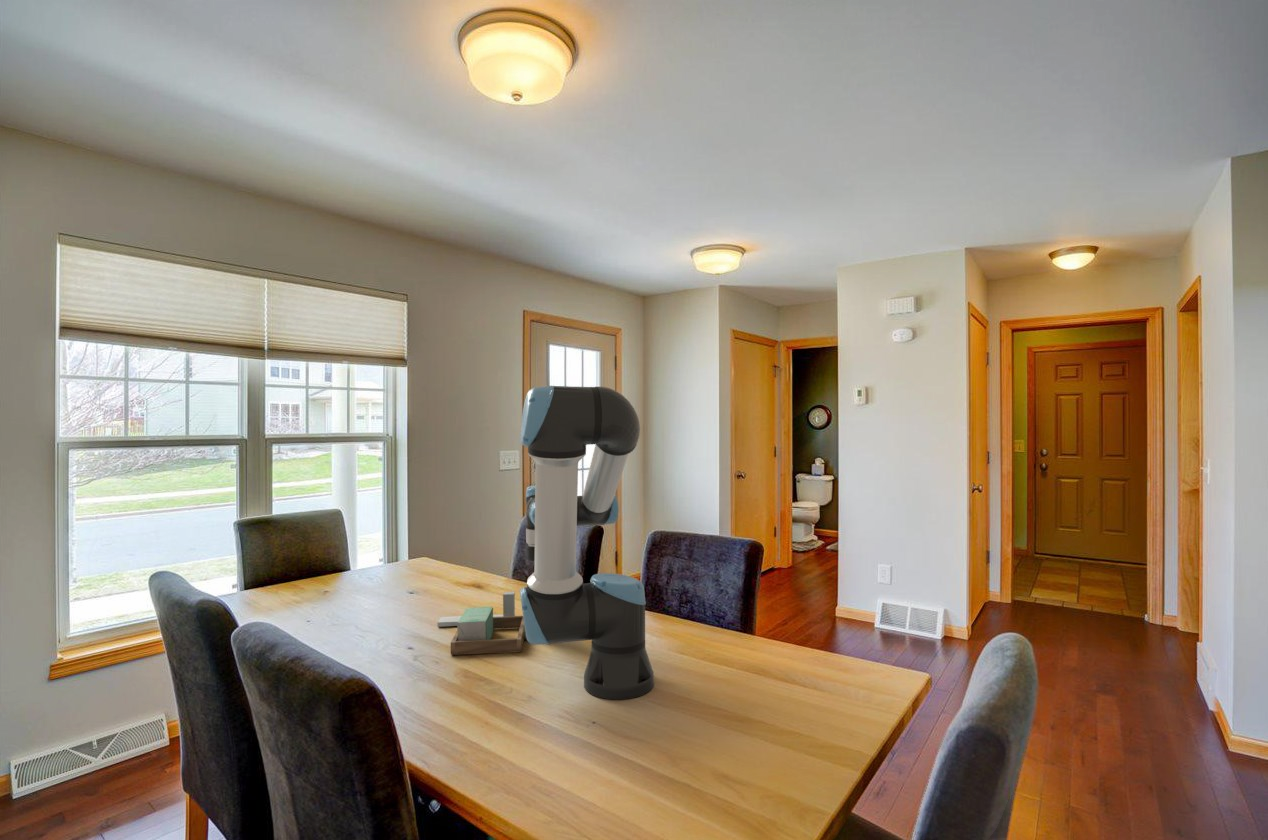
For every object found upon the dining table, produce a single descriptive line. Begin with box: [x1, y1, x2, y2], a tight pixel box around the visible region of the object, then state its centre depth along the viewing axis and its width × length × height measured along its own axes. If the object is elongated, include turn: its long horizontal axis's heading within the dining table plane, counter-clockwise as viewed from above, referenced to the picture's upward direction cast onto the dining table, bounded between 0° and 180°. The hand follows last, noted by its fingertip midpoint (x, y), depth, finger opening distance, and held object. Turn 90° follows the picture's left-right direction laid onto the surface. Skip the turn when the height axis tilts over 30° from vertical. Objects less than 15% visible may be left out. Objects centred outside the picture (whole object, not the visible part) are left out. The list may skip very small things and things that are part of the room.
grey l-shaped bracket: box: [436, 590, 516, 628], centre depth 173 cm, size 5×21×8 cm, turn 96°
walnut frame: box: [450, 615, 527, 656], centre depth 159 cm, size 19×23×11 cm
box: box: [456, 606, 494, 641], centre depth 159 cm, size 7×14×8 cm, turn 6°
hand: (541, 632), depth 160 cm, fingers closed on walnut frame, 3 cm apart
